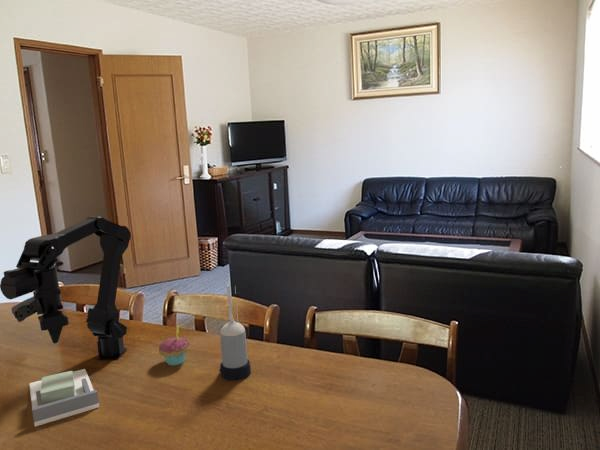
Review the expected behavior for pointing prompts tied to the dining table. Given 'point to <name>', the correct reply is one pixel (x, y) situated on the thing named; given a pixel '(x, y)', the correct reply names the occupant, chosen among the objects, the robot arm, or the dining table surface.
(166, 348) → the cupcake
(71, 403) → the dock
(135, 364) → the dining table surface
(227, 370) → the humidifier
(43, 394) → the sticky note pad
